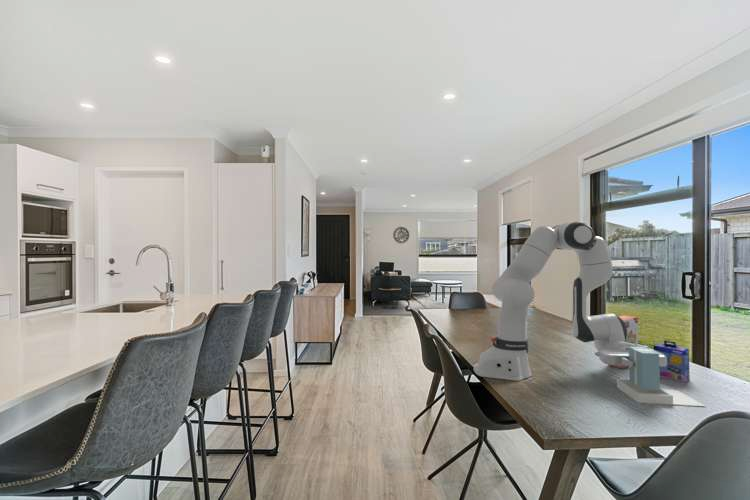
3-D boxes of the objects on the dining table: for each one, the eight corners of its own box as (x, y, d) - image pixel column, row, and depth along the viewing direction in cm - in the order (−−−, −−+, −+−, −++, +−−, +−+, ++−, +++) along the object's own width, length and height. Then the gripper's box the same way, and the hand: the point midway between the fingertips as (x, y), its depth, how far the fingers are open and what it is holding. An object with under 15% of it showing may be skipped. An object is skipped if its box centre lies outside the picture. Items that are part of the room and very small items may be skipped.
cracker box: (623, 369, 144) (622, 319, 144) (607, 365, 149) (606, 317, 149) (639, 364, 151) (638, 316, 151) (624, 360, 156) (623, 314, 156)
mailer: (638, 402, 112) (638, 393, 112) (617, 387, 125) (617, 379, 125) (705, 407, 108) (705, 397, 108) (677, 390, 121) (676, 382, 121)
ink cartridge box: (653, 375, 137) (652, 339, 137) (658, 372, 140) (657, 337, 140) (685, 382, 129) (684, 344, 129) (690, 379, 132) (689, 342, 132)
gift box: (642, 389, 114) (641, 353, 114) (629, 380, 122) (628, 346, 122) (660, 390, 113) (659, 353, 113) (645, 381, 121) (644, 347, 121)
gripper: (592, 344, 132) (610, 354, 119) (651, 345, 129) (677, 356, 115) (592, 360, 132) (611, 372, 119) (652, 362, 129) (677, 375, 115)
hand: (644, 365), depth 117 cm, fingers closed on gift box, 5 cm apart
